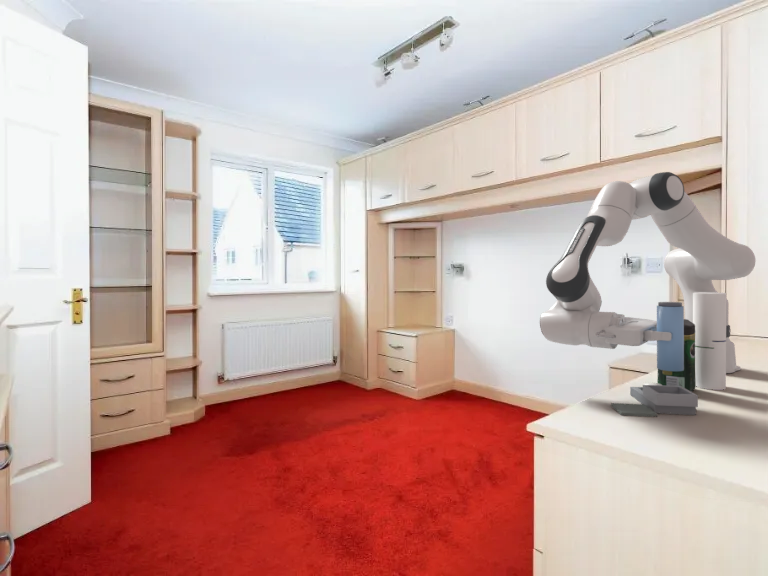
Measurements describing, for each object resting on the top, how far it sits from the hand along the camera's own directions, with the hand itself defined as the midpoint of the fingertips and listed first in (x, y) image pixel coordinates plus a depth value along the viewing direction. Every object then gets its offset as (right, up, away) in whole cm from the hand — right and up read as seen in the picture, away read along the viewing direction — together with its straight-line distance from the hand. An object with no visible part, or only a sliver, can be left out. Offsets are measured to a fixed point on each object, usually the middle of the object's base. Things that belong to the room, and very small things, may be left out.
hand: (674, 334), depth 96 cm
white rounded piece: (+1, -16, +10) cm, 19 cm away
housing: (0, -17, +6) cm, 18 cm away
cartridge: (0, -8, +1) cm, 8 cm away
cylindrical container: (+23, -16, +20) cm, 35 cm away
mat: (-9, -17, +1) cm, 19 cm away
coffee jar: (+12, -16, +17) cm, 27 cm away
